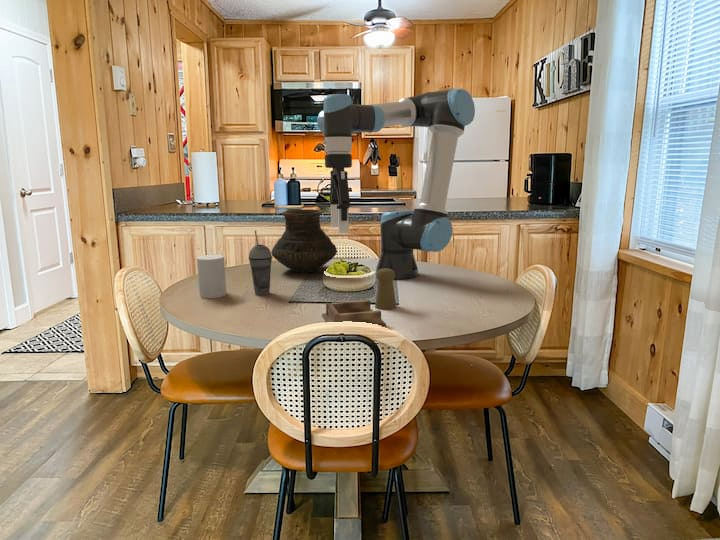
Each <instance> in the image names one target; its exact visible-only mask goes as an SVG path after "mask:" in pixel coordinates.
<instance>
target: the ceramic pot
mask: <svg viewBox="0 0 720 540" xmlns="http://www.w3.org/2000/svg"><path fill="white" fill-rule="evenodd" d="M323 213H324V212H323V211H322V210H320V209H312V208H311V209H309V208H308V209H290V210H289V209H288V210H284V211H282V212H281V215H283V217H284V221H285V223H284V224H285V226H284V227H285V230H284V232H283V234H282V235H281V237H280V238H279V239H278V240H277V241H276V243H275V244H274V245H273V247H272V249H271V250H270V252H271V255H272V258H274V259H275V260H277V262H279V263H280V264H281V265H283V266H284V267H286V268H288V269H289V270H291V271H294V272H296V273H312V272H316V271H318V270H319V269H320V268H322V267H323V266H325V265H326V264H327V263H328V262H330V261H331V260H333V258H334V257H336V255H337V253H338V250H337V247H336V245H335V244H334V243H333V242H332V240H331V238H330V237H329V236H328V235H326V232H324V230H323V229H322V228H321V222H320V221H321V220H320V219H321V215H322V214H323Z"/></svg>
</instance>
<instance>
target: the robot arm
mask: <svg viewBox="0 0 720 540" xmlns="http://www.w3.org/2000/svg"><path fill="white" fill-rule="evenodd" d="M475 112H476V106H475V101H474V100H473V97H472V95H471V93H470V92H469V91H467V89H464V88H450V89H444V90H435V91H427V92H424V93H420V94H418V95H417V94H416V95H413V96H409V97H403V98H401V99H399V100H398V101H392V102H383V103H373V104H359V103H353V102H352V96H351V95H349V94H345V93H332V94H327V95H325V96H324V98H323V110H321V111H320V112H319V113H318V116H317V119H316V124H317V127H318V129H319V131H320V132H321V133H323V134H324V135H323V136H324V140H323V141H321V142H322V145H324V152H325V153H326V154H325V155H324V167H325V168H327V169H332V170H330V186H329V199H328V200H329V203H330V225H331V227H332V228H336V227H338V234H346V233H350V225H349V223H350V221H349V220H350V215H349V213H350V212H349V210H350V207H351V202H350V201H351V199H350V192H349V191H350V189H349V181H348V180H349V179H348V171H346V170H345V169H347V168H348V169H349V168H352V166H353V156H352V154H351V153H352V152H353V140H352V139H353V137H352V135H353V134H355V133H357V134H358V133H368V134H372V133H378V132H380V131H381V130H382V129H383V128H387V127H394V126H401V127H402V128H403V127H404V128H410V127H419V128H421V127H422V128H428V129H429V131H430V132H431V134H432V136H431V139H430V146H429V152H428V157H427V161H426V162H427V163H426V168H425V173H424V179H423V184H422V187H421V188H422V189H421V193H420V198H419V199H420V200H419V204H418V205H417V206H414V209H410V210H408V209H407V210H399V211H398V210H397V211H391V212H389V211H388V212H387V211H386V212H384V213H382V214H381V217H380V255H379V258H378V262H377V265H376V268H375V275H376V274H377V271H378V270H379V269H383V268H388V269H392V270H393V271H394V273H395V278H394V280H405V279H406V280H407V279H412V278H415V277H418V276H419V269H418V268H419V267H418V265H417V262H416V261H417V260H416V259H415V255H414V250H417V251H423V252H427V253H438V252H441V251H443V250H444V249H445V248H446V247H447V246H448V245H449V243H450V241H451V240H452V236H453V231H454V229H453V228H454V227H453V226H452V225H453V224H452V223H453V222H452V221H451V220H450V219H449V212H448V211H447V210H446V204H447V199H448V194H449V188H450V182H451V177H452V172H453V166H454V162H455V161H454V160H455V156H456V155H455V154H456V150H457V147H458V146H457V145H458V141H459V138H460V137H461V136H462V135H464V133H465V128H466V127H467V126H468V125H469V126H470V124H471V123H472V122H473V121H474V118H475V114H476V113H475ZM465 126H466V127H465ZM331 227H330V228H331Z"/></svg>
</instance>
